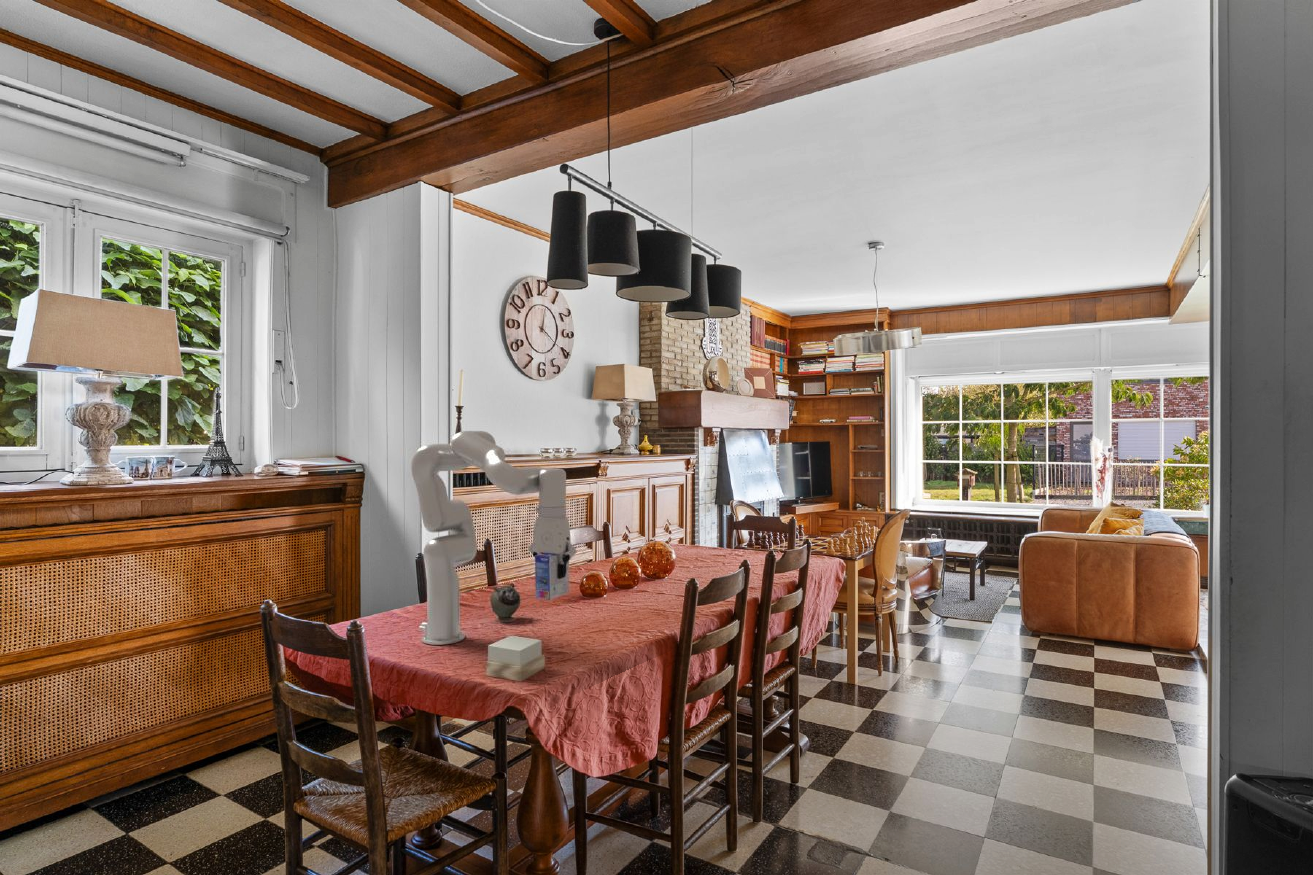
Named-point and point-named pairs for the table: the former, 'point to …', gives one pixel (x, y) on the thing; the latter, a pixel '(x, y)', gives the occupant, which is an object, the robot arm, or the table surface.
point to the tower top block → (514, 650)
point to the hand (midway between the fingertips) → (552, 576)
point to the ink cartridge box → (550, 577)
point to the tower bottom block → (515, 669)
